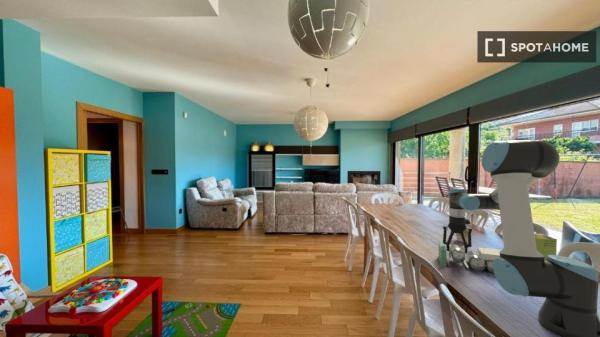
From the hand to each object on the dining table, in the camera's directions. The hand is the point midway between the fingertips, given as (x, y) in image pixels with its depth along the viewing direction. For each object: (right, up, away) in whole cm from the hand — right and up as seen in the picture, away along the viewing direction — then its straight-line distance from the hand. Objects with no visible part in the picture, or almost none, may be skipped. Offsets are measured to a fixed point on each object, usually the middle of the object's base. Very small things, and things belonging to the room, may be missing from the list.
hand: (456, 257), depth 137 cm
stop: (-6, -3, +2) cm, 8 cm away
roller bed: (+14, -3, -7) cm, 16 cm away
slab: (+17, +3, -8) cm, 19 cm away
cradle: (0, -3, 0) cm, 3 cm away
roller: (+1, 0, 0) cm, 1 cm away
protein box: (+41, -3, 0) cm, 41 cm away
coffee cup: (+28, -2, +39) cm, 49 cm away
